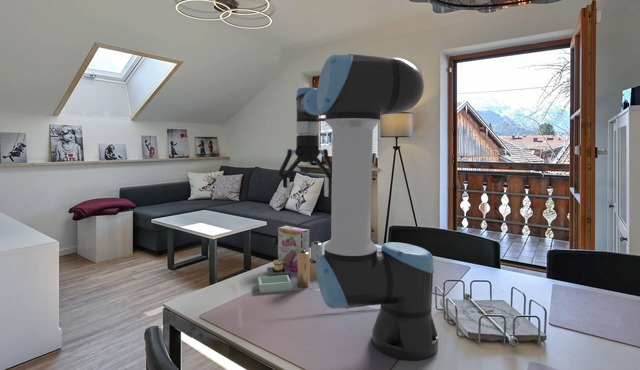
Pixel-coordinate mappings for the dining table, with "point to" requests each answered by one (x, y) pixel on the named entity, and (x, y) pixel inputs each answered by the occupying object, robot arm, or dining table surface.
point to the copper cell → (303, 269)
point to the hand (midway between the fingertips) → (307, 196)
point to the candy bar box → (291, 245)
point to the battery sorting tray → (284, 280)
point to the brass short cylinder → (278, 265)
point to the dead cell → (316, 250)
